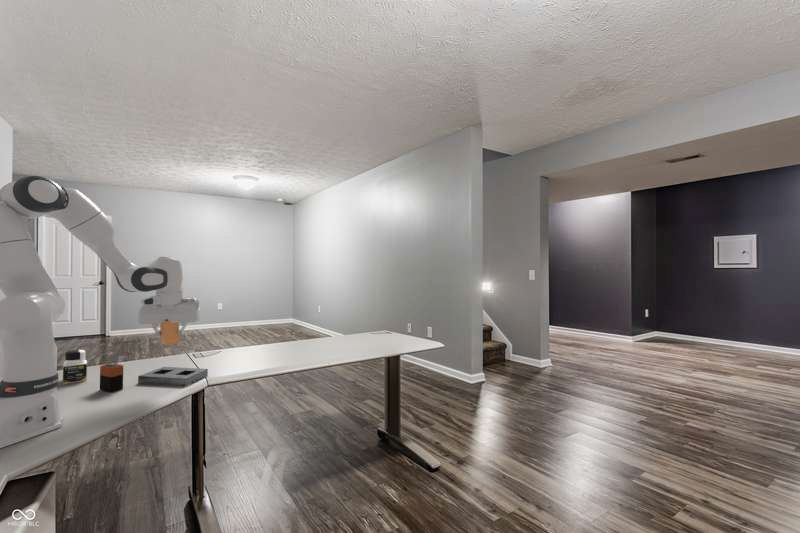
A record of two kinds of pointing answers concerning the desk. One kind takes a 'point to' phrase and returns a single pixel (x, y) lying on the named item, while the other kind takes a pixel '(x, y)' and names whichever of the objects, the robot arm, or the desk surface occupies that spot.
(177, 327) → the plug
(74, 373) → the medicine bottle
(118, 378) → the battery
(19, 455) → the desk surface
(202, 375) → the socket plate
